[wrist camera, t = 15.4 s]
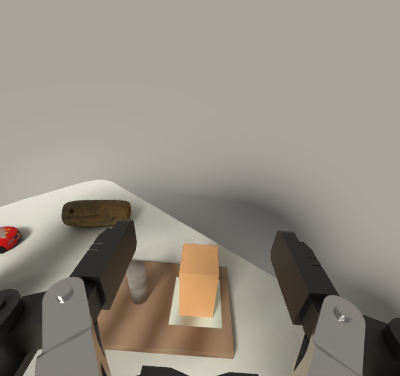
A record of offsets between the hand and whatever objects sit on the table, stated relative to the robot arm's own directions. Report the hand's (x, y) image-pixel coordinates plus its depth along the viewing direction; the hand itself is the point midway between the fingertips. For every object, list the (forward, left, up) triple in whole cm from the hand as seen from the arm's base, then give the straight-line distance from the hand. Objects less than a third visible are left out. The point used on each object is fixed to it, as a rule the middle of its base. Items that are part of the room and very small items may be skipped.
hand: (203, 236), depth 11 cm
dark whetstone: (-26, +30, -26) cm, 48 cm away
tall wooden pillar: (0, +11, -24) cm, 27 cm away
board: (-6, +11, -26) cm, 29 cm away
